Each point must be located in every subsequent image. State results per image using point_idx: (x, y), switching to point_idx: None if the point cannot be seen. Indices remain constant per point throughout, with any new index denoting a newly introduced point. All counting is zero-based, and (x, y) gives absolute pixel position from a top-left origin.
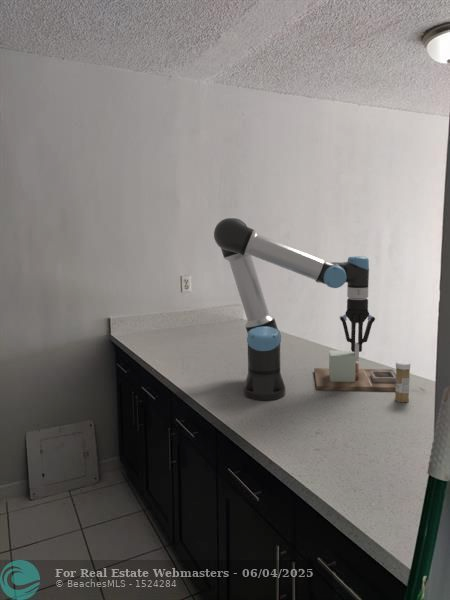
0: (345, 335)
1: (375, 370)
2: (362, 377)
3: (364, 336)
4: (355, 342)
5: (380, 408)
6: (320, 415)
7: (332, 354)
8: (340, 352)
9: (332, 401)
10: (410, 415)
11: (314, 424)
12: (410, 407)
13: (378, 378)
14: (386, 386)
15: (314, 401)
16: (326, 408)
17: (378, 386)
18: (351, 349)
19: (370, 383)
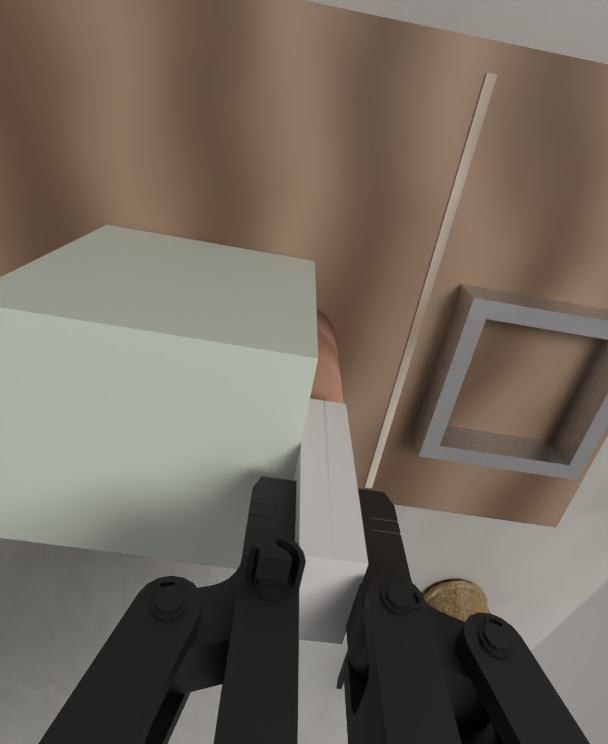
0: (84, 687)
1: (599, 117)
2: (379, 316)
3: (501, 715)
4: (319, 566)
5: (312, 654)
6: (52, 681)
7: (11, 489)
8: (120, 422)
9: (111, 581)
10: None
11: (32, 727)
12: None
13: (450, 456)
14: (457, 500)
15: (20, 574)
16: (78, 637)
17: (408, 496)
18: (245, 532)
19: (380, 451)
